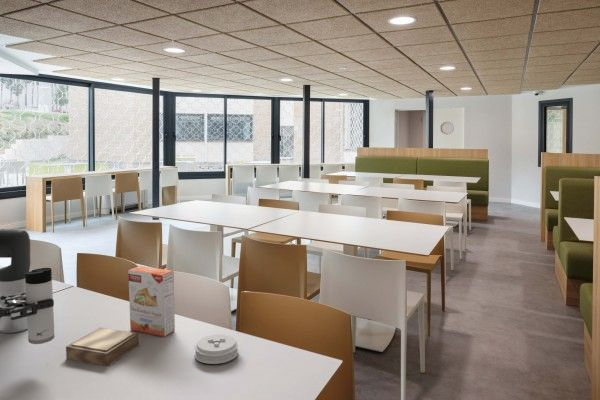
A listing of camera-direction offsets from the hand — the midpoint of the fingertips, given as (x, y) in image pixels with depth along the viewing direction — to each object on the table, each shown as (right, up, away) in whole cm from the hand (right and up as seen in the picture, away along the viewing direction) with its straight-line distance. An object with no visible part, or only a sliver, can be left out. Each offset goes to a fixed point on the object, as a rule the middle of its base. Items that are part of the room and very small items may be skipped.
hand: (49, 298), depth 122 cm
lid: (+44, -19, +9) cm, 49 cm away
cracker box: (+20, -16, +25) cm, 36 cm away
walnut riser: (+10, -18, +11) cm, 23 cm away
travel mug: (-2, -11, 0) cm, 11 cm away
